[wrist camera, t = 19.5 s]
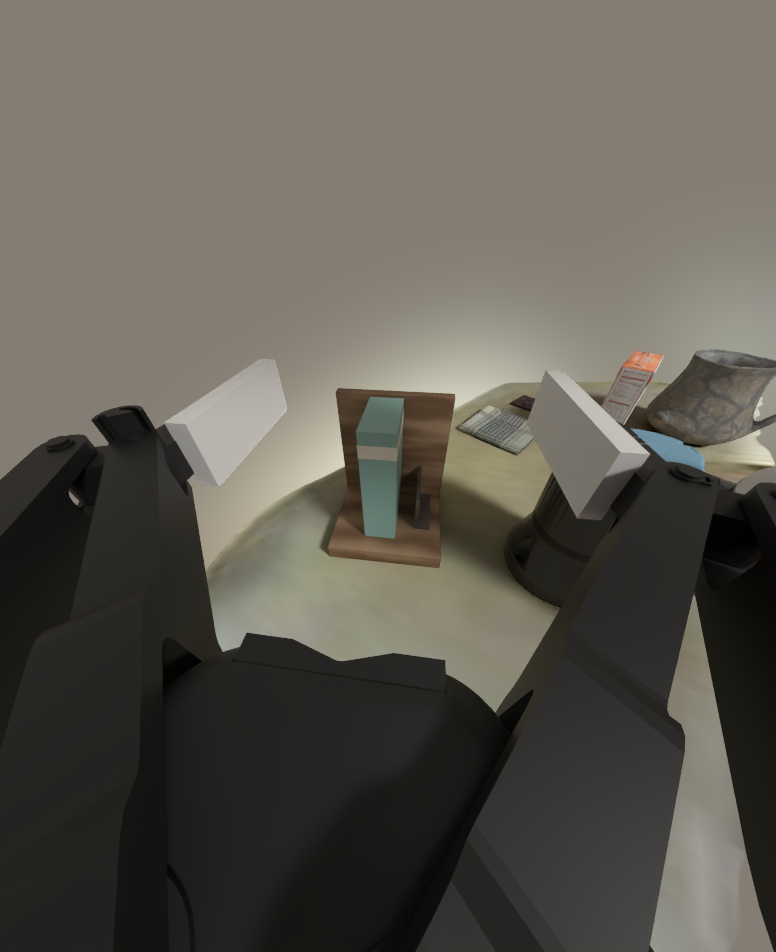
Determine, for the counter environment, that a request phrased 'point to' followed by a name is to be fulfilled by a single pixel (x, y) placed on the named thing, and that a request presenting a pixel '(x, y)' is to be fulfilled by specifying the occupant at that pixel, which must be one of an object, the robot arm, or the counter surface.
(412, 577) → the counter surface
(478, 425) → the dish towel
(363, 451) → the book
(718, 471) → the counter surface
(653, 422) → the vessel
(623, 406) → the cracker box
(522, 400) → the chocolate bar
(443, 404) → the brown angled piece
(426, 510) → the bookend
